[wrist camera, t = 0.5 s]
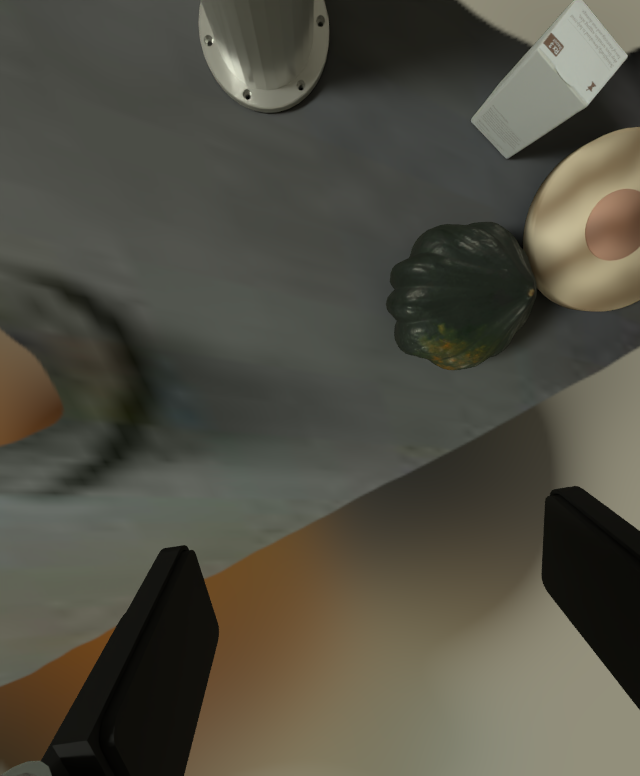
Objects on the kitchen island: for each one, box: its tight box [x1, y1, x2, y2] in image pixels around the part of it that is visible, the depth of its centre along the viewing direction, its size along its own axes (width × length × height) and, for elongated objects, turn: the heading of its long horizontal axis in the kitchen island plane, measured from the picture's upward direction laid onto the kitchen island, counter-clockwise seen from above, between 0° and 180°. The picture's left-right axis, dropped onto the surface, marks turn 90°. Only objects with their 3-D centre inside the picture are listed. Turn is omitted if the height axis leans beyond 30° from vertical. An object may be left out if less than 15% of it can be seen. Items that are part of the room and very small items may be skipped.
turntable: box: [523, 127, 640, 312], centre depth 35 cm, size 18×18×8 cm
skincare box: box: [471, 0, 628, 159], centre depth 31 cm, size 6×4×12 cm
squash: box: [386, 222, 537, 370], centre depth 36 cm, size 14×15×15 cm
